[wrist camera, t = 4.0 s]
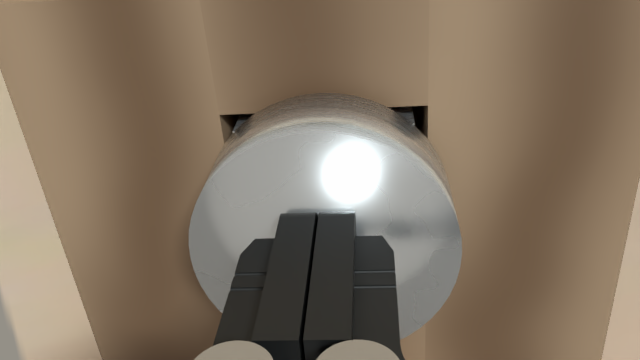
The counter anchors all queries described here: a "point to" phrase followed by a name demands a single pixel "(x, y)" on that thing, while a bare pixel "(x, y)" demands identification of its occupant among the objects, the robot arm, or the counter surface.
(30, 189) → the counter surface
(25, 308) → the counter surface
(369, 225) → the knob
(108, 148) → the knob mount
